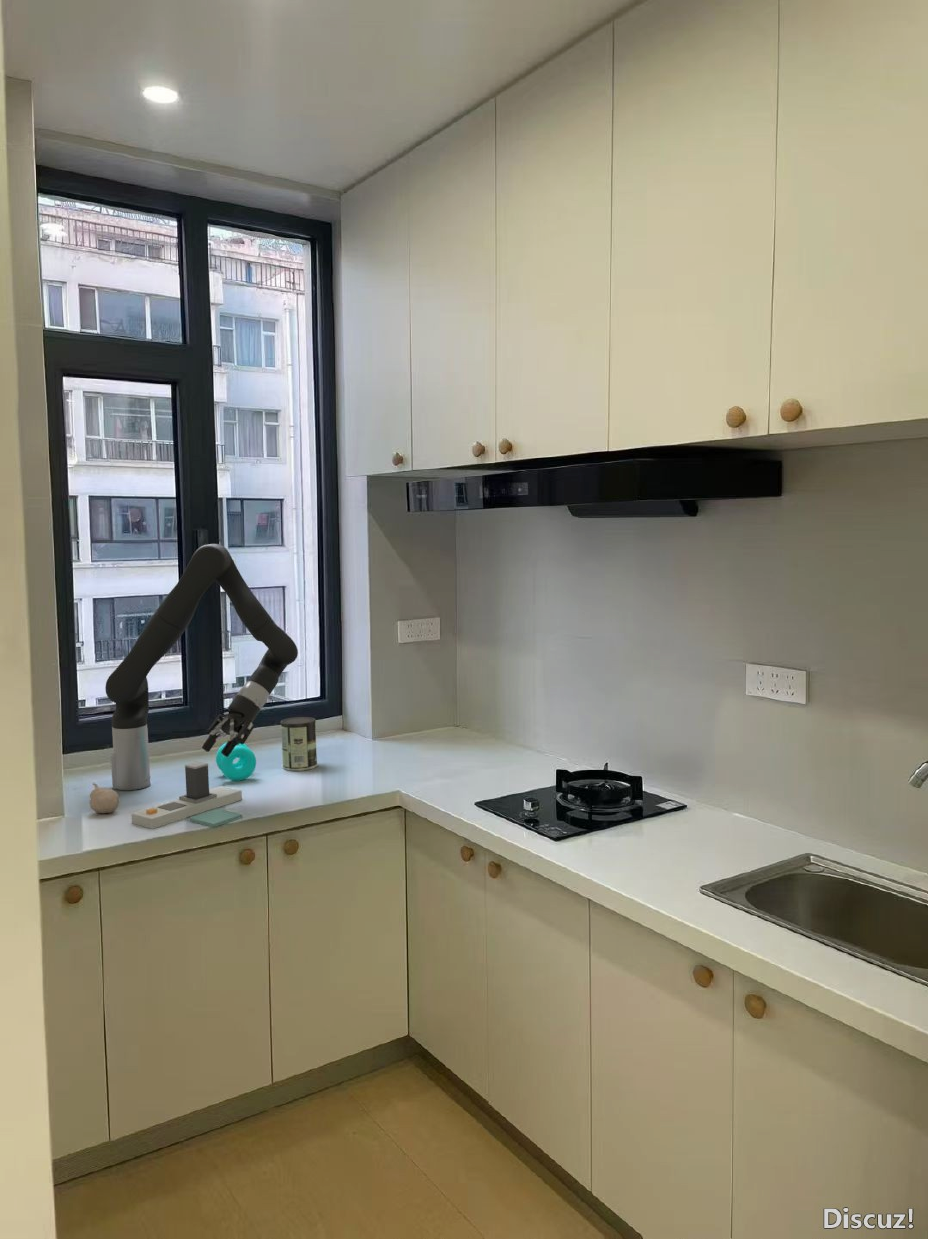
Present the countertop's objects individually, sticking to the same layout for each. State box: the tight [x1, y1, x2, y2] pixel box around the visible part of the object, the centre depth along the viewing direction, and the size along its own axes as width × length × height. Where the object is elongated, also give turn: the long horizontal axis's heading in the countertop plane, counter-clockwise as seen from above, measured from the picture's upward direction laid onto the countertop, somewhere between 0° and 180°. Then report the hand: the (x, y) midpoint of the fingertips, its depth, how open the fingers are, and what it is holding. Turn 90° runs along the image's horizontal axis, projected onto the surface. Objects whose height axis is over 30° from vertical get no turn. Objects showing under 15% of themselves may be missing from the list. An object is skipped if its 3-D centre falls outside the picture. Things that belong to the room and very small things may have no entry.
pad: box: [188, 807, 244, 828], centre depth 232 cm, size 9×9×1 cm
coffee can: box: [280, 716, 318, 772], centre depth 280 cm, size 10×10×14 cm
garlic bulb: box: [89, 782, 121, 814], centre depth 238 cm, size 7×6×8 cm
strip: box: [130, 785, 243, 829], centre depth 239 cm, size 28×8×3 cm, turn 145°
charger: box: [184, 761, 210, 800], centre depth 241 cm, size 4×4×9 cm
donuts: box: [215, 742, 257, 782], centre depth 269 cm, size 10×10×10 cm
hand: (214, 752), depth 244 cm, fingers open, 8 cm apart
